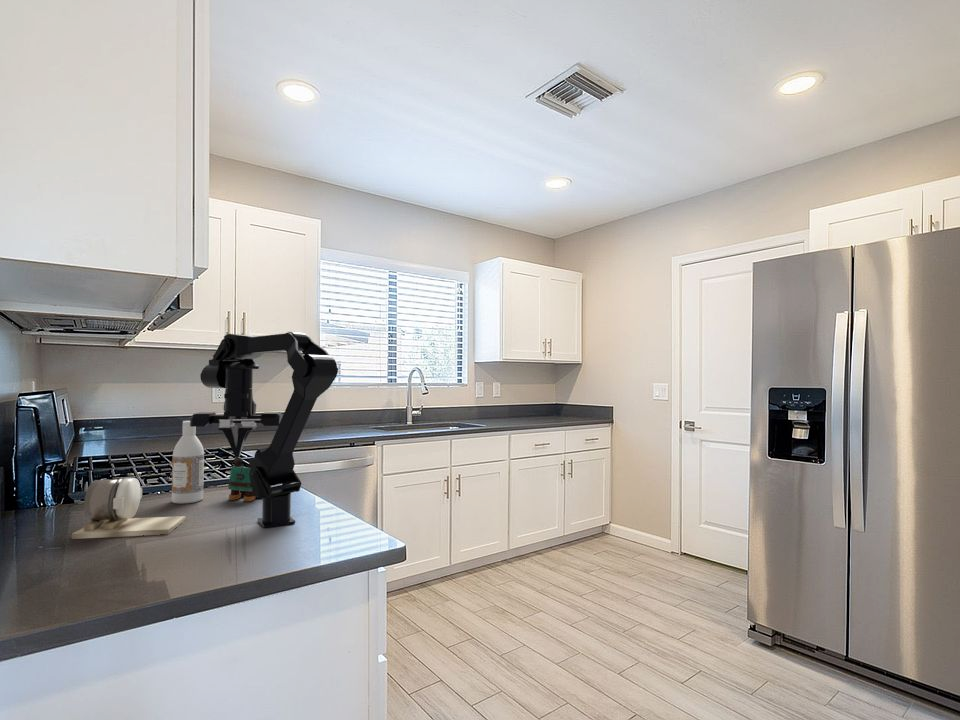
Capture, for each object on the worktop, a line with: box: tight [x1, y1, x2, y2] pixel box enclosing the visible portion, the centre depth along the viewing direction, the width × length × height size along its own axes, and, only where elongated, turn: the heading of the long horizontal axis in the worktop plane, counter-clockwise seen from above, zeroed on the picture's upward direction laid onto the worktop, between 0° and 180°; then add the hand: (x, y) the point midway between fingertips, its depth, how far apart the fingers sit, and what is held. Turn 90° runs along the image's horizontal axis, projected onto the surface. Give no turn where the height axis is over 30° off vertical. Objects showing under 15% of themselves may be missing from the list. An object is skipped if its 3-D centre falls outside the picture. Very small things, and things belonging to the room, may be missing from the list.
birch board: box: [71, 515, 186, 540], centre depth 109 cm, size 17×10×2 cm, turn 102°
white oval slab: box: [113, 477, 143, 519], centre depth 109 cm, size 2×10×8 cm, turn 12°
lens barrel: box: [83, 477, 125, 522], centre depth 108 cm, size 5×8×8 cm, turn 12°
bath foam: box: [171, 420, 205, 505], centre depth 134 cm, size 7×7×20 cm
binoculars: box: [228, 456, 256, 502], centre depth 138 cm, size 9×11×10 cm
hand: (237, 457), depth 122 cm, fingers closed
